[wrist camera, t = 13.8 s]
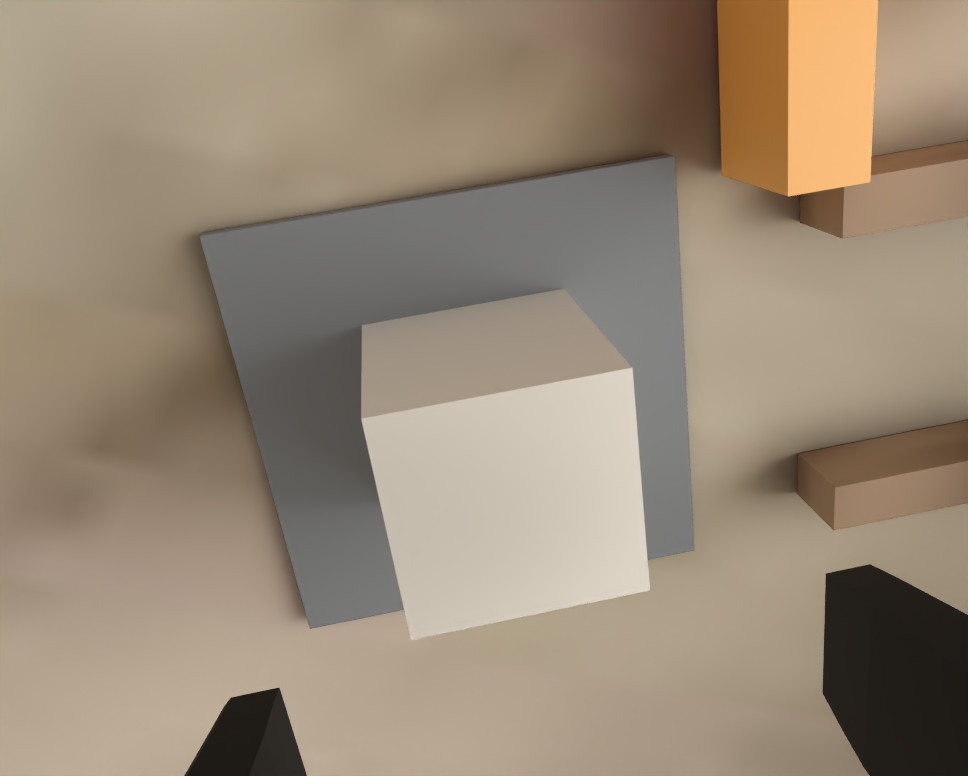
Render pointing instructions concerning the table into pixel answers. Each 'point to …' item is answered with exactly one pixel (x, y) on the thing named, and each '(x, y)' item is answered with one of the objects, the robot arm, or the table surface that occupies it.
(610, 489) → the white block
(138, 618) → the table surface
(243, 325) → the slate mat
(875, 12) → the orange bar
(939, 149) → the walnut channel
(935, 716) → the robot arm
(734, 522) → the table surface
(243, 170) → the table surface
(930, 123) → the table surface
